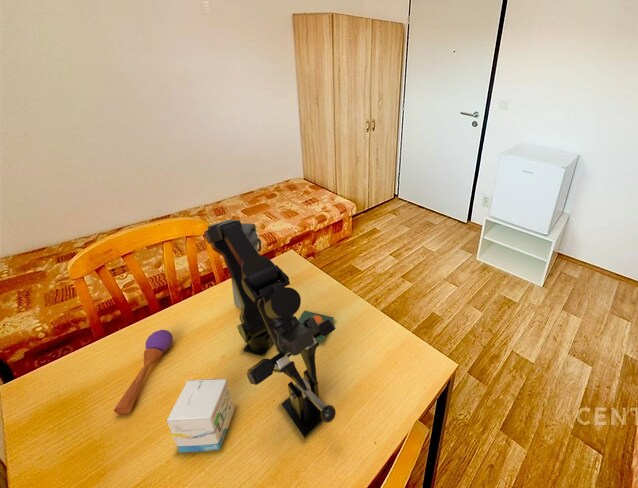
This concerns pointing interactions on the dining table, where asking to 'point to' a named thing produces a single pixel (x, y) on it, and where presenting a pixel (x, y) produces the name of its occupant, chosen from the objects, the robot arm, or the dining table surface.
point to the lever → (318, 403)
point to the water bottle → (253, 237)
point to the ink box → (201, 415)
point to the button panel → (308, 314)
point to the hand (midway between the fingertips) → (310, 386)
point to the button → (317, 318)
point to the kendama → (145, 368)
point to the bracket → (303, 408)
